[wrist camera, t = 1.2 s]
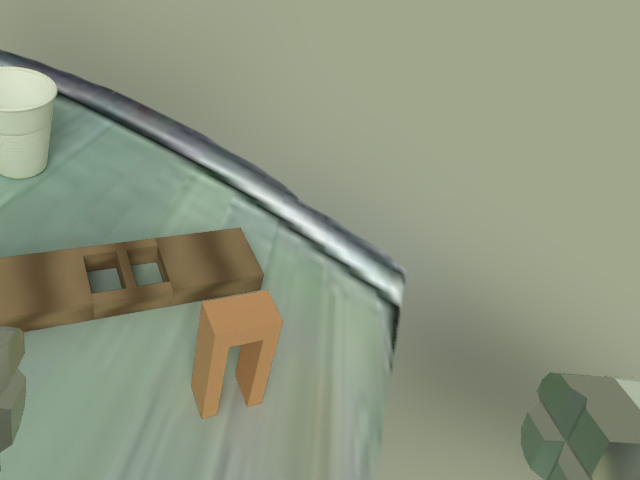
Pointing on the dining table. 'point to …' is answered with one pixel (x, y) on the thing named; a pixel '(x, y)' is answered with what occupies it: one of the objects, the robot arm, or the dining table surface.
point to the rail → (124, 278)
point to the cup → (25, 121)
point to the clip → (228, 331)
